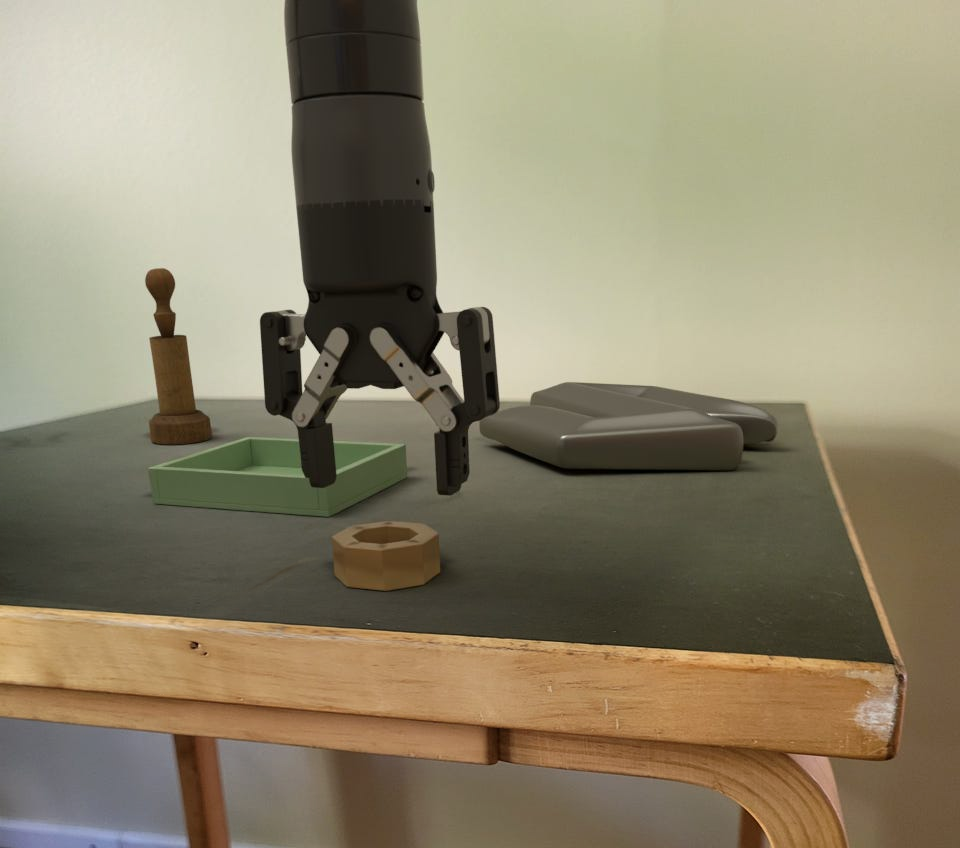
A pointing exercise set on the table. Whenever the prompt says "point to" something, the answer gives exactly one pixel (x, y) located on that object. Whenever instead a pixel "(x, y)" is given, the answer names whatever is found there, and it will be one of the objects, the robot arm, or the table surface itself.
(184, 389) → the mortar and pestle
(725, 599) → the table surface
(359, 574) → the ring
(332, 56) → the robot arm
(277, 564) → the table surface
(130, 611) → the table surface
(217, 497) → the tray
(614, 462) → the emblem
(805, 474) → the table surface
